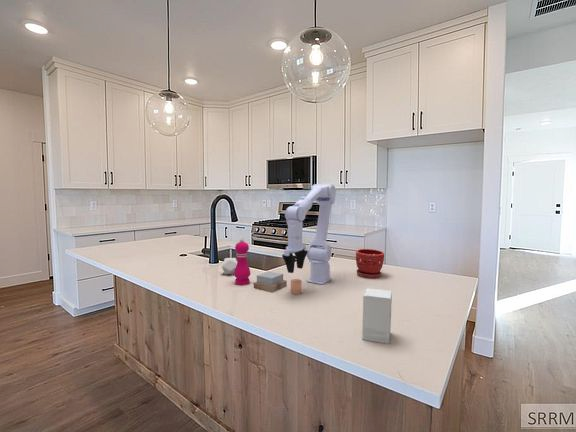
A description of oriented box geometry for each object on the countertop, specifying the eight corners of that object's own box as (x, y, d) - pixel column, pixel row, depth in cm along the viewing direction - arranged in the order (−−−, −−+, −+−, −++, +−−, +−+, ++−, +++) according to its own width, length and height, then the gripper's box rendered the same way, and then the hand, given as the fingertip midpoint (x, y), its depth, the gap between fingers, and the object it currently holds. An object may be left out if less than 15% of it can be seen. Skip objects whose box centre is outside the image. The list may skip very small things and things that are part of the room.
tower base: (268, 283, 140) (268, 277, 140) (286, 287, 135) (286, 280, 135) (253, 289, 132) (253, 282, 132) (272, 293, 126) (272, 286, 126)
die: (233, 278, 149) (243, 260, 152) (217, 269, 148) (227, 252, 152) (232, 280, 156) (242, 263, 160) (217, 271, 156) (227, 254, 159)
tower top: (268, 278, 139) (268, 271, 138) (283, 280, 134) (283, 273, 134) (256, 282, 132) (256, 275, 132) (272, 285, 127) (271, 278, 127)
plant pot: (355, 278, 146) (355, 253, 145) (355, 271, 159) (356, 248, 158) (384, 280, 143) (385, 254, 142) (382, 273, 156) (383, 249, 155)
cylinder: (294, 290, 129) (294, 278, 129) (303, 292, 127) (303, 280, 126) (288, 293, 126) (288, 281, 125) (297, 295, 123) (297, 282, 123)
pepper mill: (247, 285, 135) (246, 239, 133) (231, 284, 137) (230, 239, 135) (252, 281, 142) (252, 237, 141) (237, 280, 144) (237, 236, 142)
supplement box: (389, 344, 84) (390, 298, 83) (361, 339, 87) (362, 295, 86) (391, 332, 91) (392, 290, 90) (365, 328, 94) (366, 287, 93)
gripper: (295, 233, 132) (295, 265, 133) (276, 238, 119) (277, 273, 121) (310, 234, 128) (310, 267, 130) (293, 239, 116) (293, 275, 117)
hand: (295, 270), depth 125 cm, fingers open, 7 cm apart
